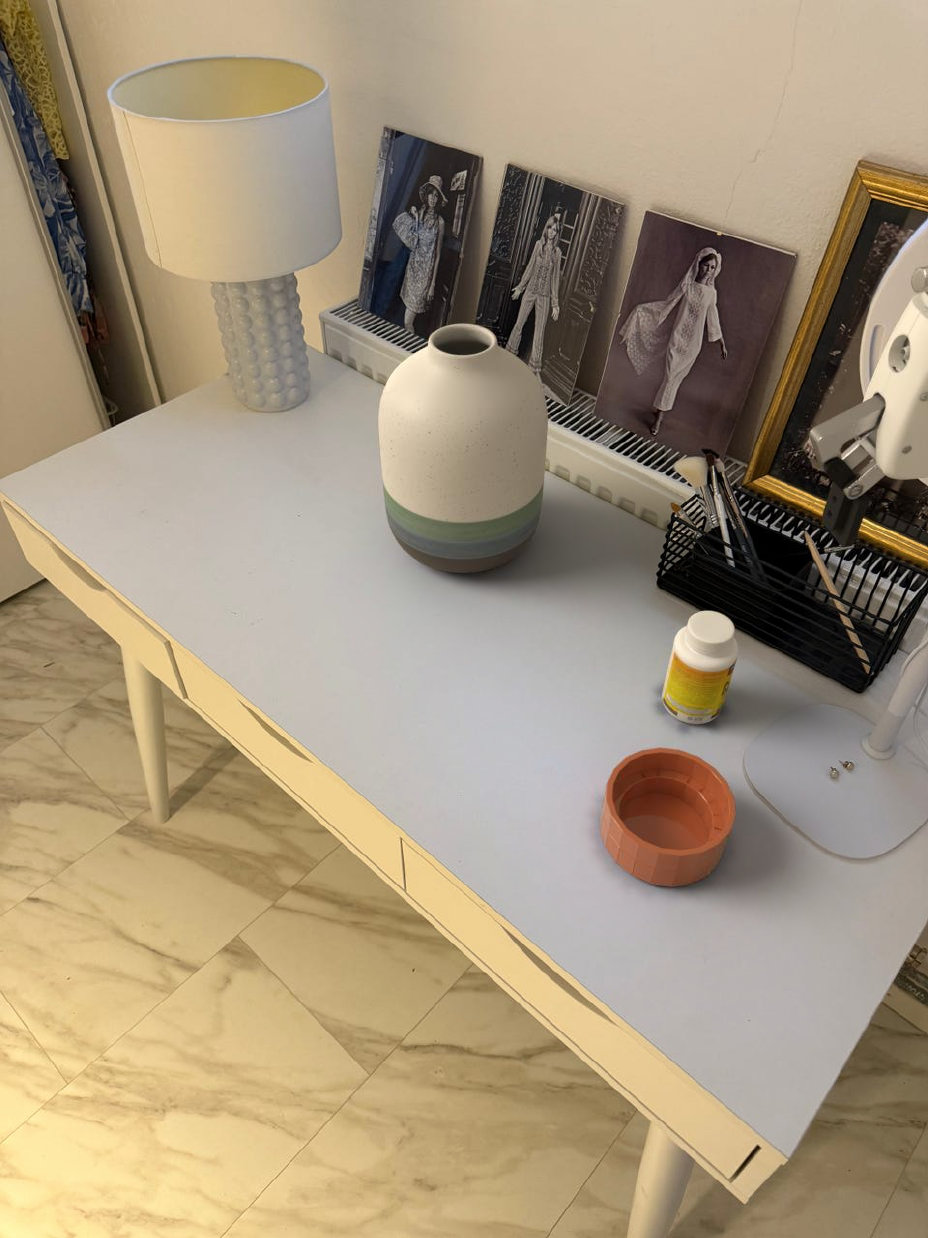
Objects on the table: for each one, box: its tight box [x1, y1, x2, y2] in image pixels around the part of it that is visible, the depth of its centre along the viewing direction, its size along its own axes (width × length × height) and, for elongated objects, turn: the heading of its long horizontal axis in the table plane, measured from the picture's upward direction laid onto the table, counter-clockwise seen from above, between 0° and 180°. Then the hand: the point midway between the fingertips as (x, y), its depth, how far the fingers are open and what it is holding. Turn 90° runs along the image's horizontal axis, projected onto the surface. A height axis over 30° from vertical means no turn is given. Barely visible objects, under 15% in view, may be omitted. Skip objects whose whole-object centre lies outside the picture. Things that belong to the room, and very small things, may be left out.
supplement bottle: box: [661, 610, 739, 725], centre depth 83 cm, size 6×6×10 cm
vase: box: [377, 323, 549, 574], centre depth 95 cm, size 17×17×24 cm
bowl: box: [599, 747, 737, 888], centre depth 75 cm, size 10×10×5 cm
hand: (903, 525), depth 63 cm, fingers open, 9 cm apart
